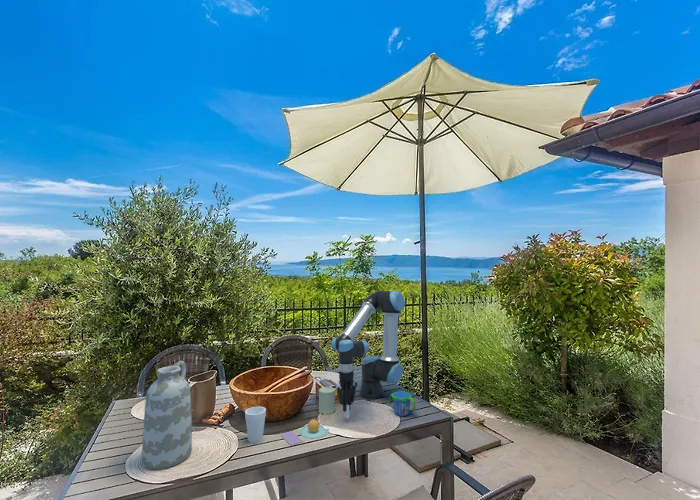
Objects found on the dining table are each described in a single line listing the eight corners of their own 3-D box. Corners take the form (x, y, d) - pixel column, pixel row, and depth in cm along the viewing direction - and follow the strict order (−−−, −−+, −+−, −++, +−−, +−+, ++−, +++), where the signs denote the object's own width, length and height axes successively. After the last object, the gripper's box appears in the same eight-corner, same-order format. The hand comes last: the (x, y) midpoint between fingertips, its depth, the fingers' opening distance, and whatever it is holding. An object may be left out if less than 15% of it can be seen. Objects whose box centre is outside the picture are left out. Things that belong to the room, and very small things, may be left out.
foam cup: (246, 446, 151) (247, 416, 152) (243, 437, 160) (243, 409, 160) (268, 441, 156) (268, 412, 157) (263, 432, 164) (263, 405, 165)
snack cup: (384, 412, 185) (383, 393, 185) (395, 407, 193) (395, 388, 193) (408, 421, 174) (408, 401, 175) (419, 414, 182) (419, 395, 182)
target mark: (319, 422, 175) (319, 421, 175) (334, 432, 163) (334, 432, 163) (294, 429, 167) (294, 429, 167) (307, 441, 155) (307, 440, 155)
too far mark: (291, 431, 165) (291, 431, 165) (302, 441, 155) (302, 441, 155) (280, 435, 161) (280, 434, 161) (290, 445, 152) (290, 445, 152)
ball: (314, 416, 168) (305, 420, 165) (320, 420, 164) (310, 425, 160) (316, 426, 168) (306, 431, 165) (322, 431, 164) (312, 436, 161)
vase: (172, 472, 133) (174, 372, 135) (130, 468, 136) (132, 371, 138) (202, 445, 152) (204, 359, 155) (165, 442, 155) (167, 358, 158)
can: (336, 407, 193) (336, 386, 193) (333, 414, 183) (333, 392, 184) (320, 407, 193) (320, 385, 194) (317, 414, 184) (317, 391, 185)
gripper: (339, 374, 170) (340, 423, 169) (360, 370, 177) (361, 416, 176) (331, 371, 176) (332, 417, 175) (352, 367, 184) (353, 411, 182)
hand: (346, 417), depth 176 cm, fingers closed
